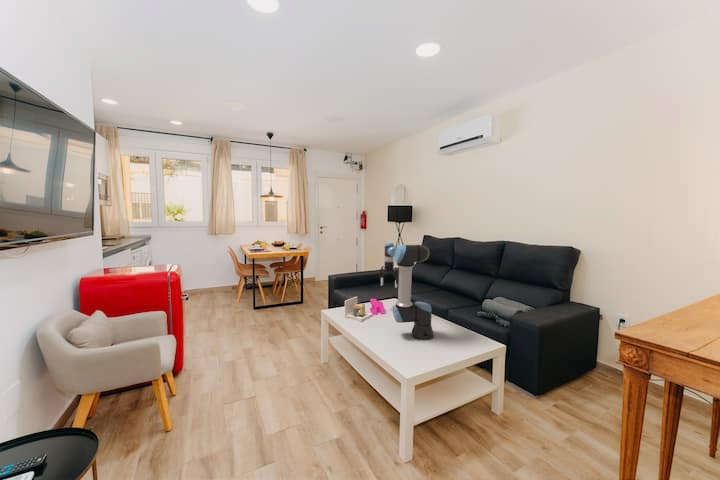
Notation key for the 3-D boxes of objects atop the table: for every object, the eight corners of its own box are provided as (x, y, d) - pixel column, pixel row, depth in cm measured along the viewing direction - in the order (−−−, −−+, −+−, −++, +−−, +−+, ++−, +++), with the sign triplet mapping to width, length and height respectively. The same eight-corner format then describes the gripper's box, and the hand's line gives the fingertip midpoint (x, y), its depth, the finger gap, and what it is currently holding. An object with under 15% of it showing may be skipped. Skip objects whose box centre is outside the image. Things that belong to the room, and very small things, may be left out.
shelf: (372, 316, 243) (372, 299, 241) (361, 321, 230) (361, 304, 229) (356, 312, 253) (356, 296, 252) (344, 317, 240) (344, 300, 239)
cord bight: (364, 314, 240) (364, 305, 239) (361, 315, 237) (361, 306, 236) (356, 312, 244) (356, 304, 244) (354, 313, 242) (354, 305, 241)
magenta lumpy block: (370, 310, 257) (370, 299, 256) (381, 309, 259) (381, 298, 258) (373, 315, 246) (373, 303, 245) (385, 314, 248) (385, 302, 247)
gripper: (404, 262, 239) (404, 287, 240) (378, 259, 253) (378, 283, 254) (400, 263, 232) (400, 289, 234) (374, 260, 246) (374, 285, 248)
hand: (389, 286), depth 244 cm, fingers open, 13 cm apart
